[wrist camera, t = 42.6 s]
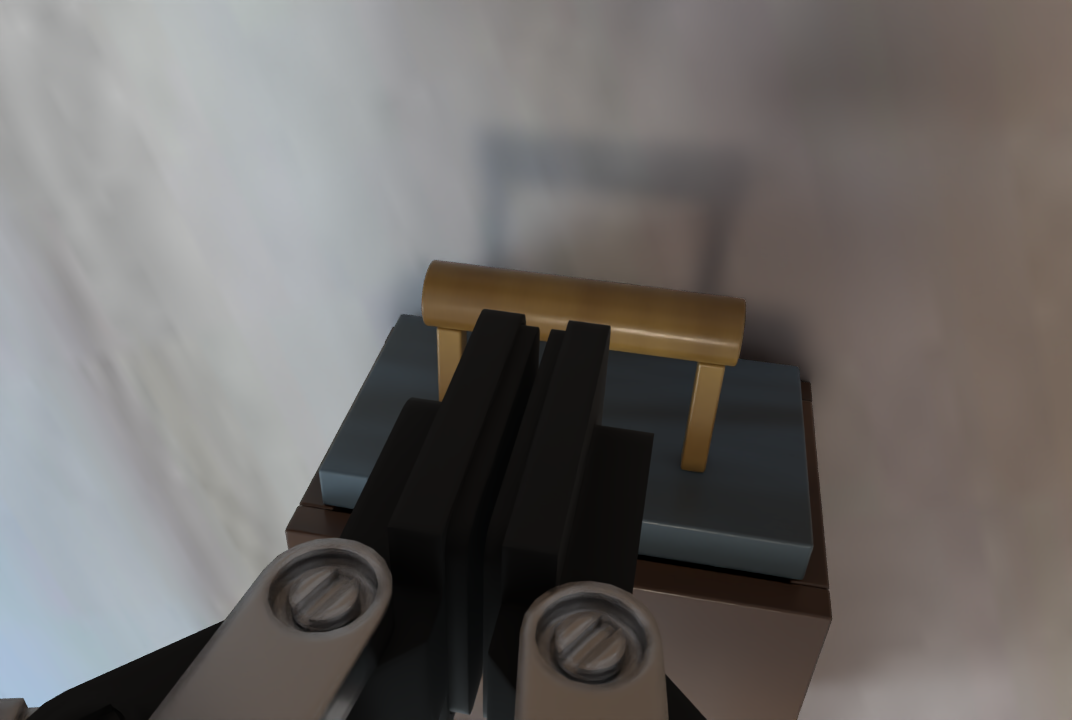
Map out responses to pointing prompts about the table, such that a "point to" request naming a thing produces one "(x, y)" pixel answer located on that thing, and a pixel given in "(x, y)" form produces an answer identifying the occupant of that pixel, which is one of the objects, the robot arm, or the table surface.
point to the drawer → (626, 408)
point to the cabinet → (701, 614)
